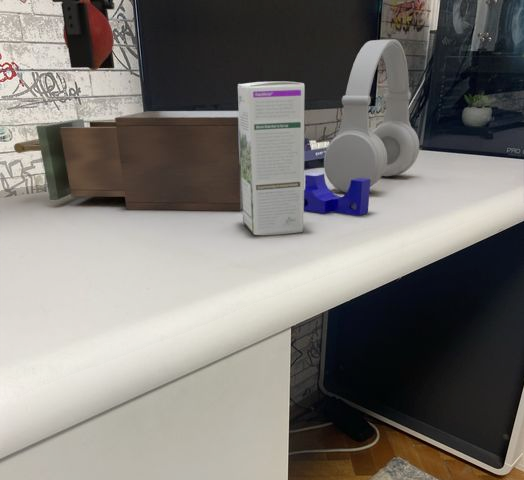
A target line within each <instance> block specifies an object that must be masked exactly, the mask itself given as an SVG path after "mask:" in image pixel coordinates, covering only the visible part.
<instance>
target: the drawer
mask: <svg viewBox="0 0 524 480" xmlns="http://www.w3.org/2000/svg"><path fill="white" fill-rule="evenodd" d="M35 127H36V133H37V137H38V138H35V139H30V140H26V141H20V142H16V143H14V145H13V149H14V151H15V152H16V153H18V154H23V153H26V152H30V151H40V155H41V159H42V164H43V170H44V174H45V180H46V186H47V190H48V196H49V200H50V201H59V200H61V199H64V198H65V197H68V196H71V197H106V198H107V197H118V198H120V197H121V198H123V197H124V198H125V193H124V185H123V177H122V170H121V162H120V154H119V146H118V138H117V130H116V122H115V121H89V126H85V121H84V118H80V119H79V118H77V119H76V118H75V119H70V120H64V121H58V122H57V121H56V122H52V123H47V124H40V125H36V126H35Z"/></svg>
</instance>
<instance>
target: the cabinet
mask: <svg viewBox="0 0 524 480" xmlns="http://www.w3.org/2000/svg"><path fill="white" fill-rule="evenodd" d="M114 120H115V121H114V122H116V130H117V138H118V146H119V154H120V162H121V170H122V177H123V185H124V193H125V197H124V199H125V209H126V210H141V211H142V210H144V211H145V210H146V211H151V210H152V211H216V212H217V211H218V212H219V211H220V212H222V211H224V212H241V211H242V210H243V207H242V184H241V156H240V135H239V110H170V111H169V110H159V111H158V110H155V111H154V110H151V111H149V110H146V111H142V112H137V113H131V114H127V115H126V114H125V115H121V116H116V117H114Z"/></svg>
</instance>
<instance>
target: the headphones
mask: <svg viewBox="0 0 524 480" xmlns="http://www.w3.org/2000/svg"><path fill="white" fill-rule="evenodd" d="M381 57H382V58H383V62H384V66H385V72H386V81H387V92H386V95H385V97H386V99H385V100H386V108H385V110H384V115H383V119H382V122H381V123H380V124H379V125H378V126H377V127H375V128H374V129H373V130H372V131H371V129H370V116H369V106H370V105H371V102H372V101H371V100H372V98H371V95H370V94H371V90H372V85H373V81H374V77H375V74H376V70H377V67H378V65H379V63H380V59H381ZM349 74H350V75H349V78H348V82H347V86H346V91H345V95H343V96H342V97H341V104H342V106H343V107H342V113H341V114H342V115H341V119H340V125H339V130H338V131H337V133H336V135H335V137H333V138H332V139H331V141H330V142H329V143H328V145H327V146H326V149H325V152H324V157H323V169H324V172H325V173H324V174H325V176H326V178H327V180H328V181H329V183H330V184H331V185H332V186H333V187H334V188H335V189H336V190H338V191H340V192H343V193H344V194H346V193H347V191H348V189H349V187H350V183H351V180H353V179H357V178H366V179H371V180H370V188H371V187H373V186H374V185H375V184H377V182H379V181H380V179H381V178H382V177H393V176H398V175H402V174H404V173H405V172H407V171H408V170H409V169H410V168H411V167H413V166H414V164H415V162H416V161H417V159H418V156H419V154H420V140H419V137H418V134H417V132H416V130H415V129H414V128H413V127H412V124H411V122H410V111H409V108H410V107H409V103H410V100H411V96H412V93H411V91H410V85H409V71H408V62H407V56H406V53H405V49H404V47H403V46H402V44H401V43H400V41H398V40H397V39H375V40H373V39H372V40H369V41H366V42H365V43H364V44H363V46H362V47H361V48H360V50H359V52H358V53H357V55H356V57H355V59H354V62H353V64H352V68H351V71H350V73H349Z"/></svg>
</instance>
